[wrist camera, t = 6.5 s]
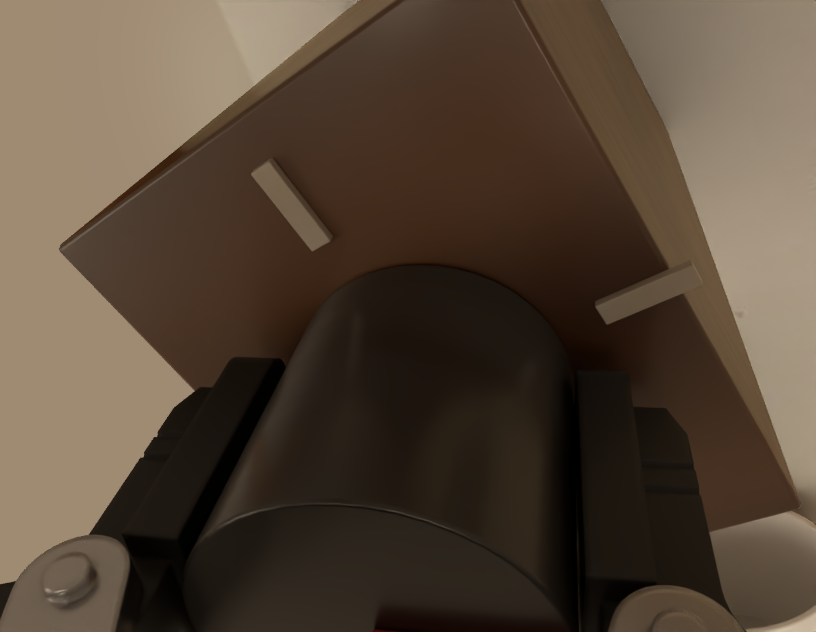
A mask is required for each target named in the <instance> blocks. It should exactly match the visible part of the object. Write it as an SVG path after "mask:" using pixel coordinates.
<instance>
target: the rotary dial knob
mask: <svg viewBox="0 0 816 632" xmlns="http://www.w3.org/2000/svg"><path fill="white" fill-rule="evenodd" d="M182 594H183V600H184V606H185V610H186V612H187V615H188V618H189V620H190V623H191V625H192V627H193V628H194V630H195V632H579V614H578V569H577V523H576V478H575V432H574V388H573V375H572V370H571V366H570V362H569V358H568V356H567V353H566V351H565V349H564V346H563V344H562V342H561V341H560V339H559V337H558V336H557V334H556V333H555V331H554V329H553V328H552V327H551V326H550V324H549V323H548V322H547V321H546V320H545V318H544V317H543V316H542V315H541V314H540V313H539V312H538V311H537V310H536V309H535V308H533V307H532V306H531V305H530V304H529V303H528V302H527V301H525V300H524V299H523V298H521V297H520V296H518V295H517V294H515V293H514V292H513V291H511V290H509V289H507V288H505V287H504V286H502V285H500V284H498V283H496V282H494V281H492V280H489V279H487V278H484V277H482V276H479V275H477V274H473V273H470V272H466V271H462V270H459V269H453V268H447V267H441V266H426V265H413V266H400V267H394V268H389V269H384V270H380V271H377V272H374V273H371V274H368V275H365V276H362V277H360V278H358V279H356V280H354V281H352V282H350V283H348V284H346V285H345V286H343V287H342V288H340V289H339V290H338V291H336V292H335V293H333V294H332V295H331V296H330V297H329V298H328V299H327V300H326V301H325V302H324V303H323V304H322V305H321V306H320V307H319V309H318V310H317V311H316V313H315V314H314V315H313V317H312V319H311V320H310V322H309V324H308V326H307V328H306V330H305V332H304V334H303V336H302V338H301V340H300V342H299V344H298V345H297V347H296V349H295V351H294V353H293V355H292V357H291V359H290V361H289V363H288V365H287V367H286V369H285V371H284V373H283V375H282V376H281V378H280V380H279V382H278V384H277V386H276V388H275V390H274V392H273V394H272V396H271V398H270V400H269V402H268V404H267V406H266V407H265V409H264V411H263V413H262V415H261V417H260V419H259V421H258V423H257V425H256V427H255V429H254V431H253V433H252V435H251V437H250V438H249V440H248V442H247V444H246V446H245V448H244V450H243V452H242V454H241V456H240V458H239V460H238V462H237V464H236V466H235V468H234V469H233V471H232V473H231V475H230V477H229V479H228V481H227V483H226V485H225V487H224V489H223V491H222V493H221V495H220V497H219V499H218V500H217V502H216V504H215V506H214V508H213V510H212V512H211V514H210V516H209V518H208V520H207V522H206V524H205V526H204V528H203V530H202V531H201V533H200V535H199V537H198V539H197V541H196V543H195V545H194V547H193V549H192V551H191V553H190V555H189V557H188V559H187V561H186V565H185V568H184V572H183V586H182Z"/></svg>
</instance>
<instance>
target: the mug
mask: <svg viewBox="0 0 816 632" xmlns="http://www.w3.org/2000/svg"><path fill="white" fill-rule="evenodd" d="M709 534H710V538H711V543H712V547H713V552H714V556H715V561H716V565H717V570H718V574H719V578H720V583H721V587H722V591H723V595H724V598H725V601H726V603H727V605H728V607H729V609H730V611H731V612H732V614H733V615H734V617H735V618H736V620H737V621H738V622H739V624H740V625H741V626H742V627H743V628H744V629H745V630H746V632H816V524H814V523H813V522H811V521H810V520H808V519H807V518H805V517H803V516H801V515H799V514H797V513H795V512H793V511H790V512H786V513H782V514H778V515H774V516H770V517H767V518H763V519H759V520H755V521H751V522H747V523H744V524H740V525H736V526H732V527H728V528H724V529H720V530H717V531H713V532H709Z"/></svg>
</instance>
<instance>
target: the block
mask: <svg viewBox="0 0 816 632" xmlns="http://www.w3.org/2000/svg"><path fill="white" fill-rule="evenodd" d="M59 250H60V252H61V253H62V254H63V255H64V256H65V257H66V258H67V259H68V260H69V261H70V262H71V263H72V264H73V266H74V267H76V269H77V270H78V271H79V272H80V273H81V274H82V275H83V276H84V277H85V278H86V279H87V280H88V281H89V282H90V283H91V284H92V285H93V286H94V287H95V288H96V289H97V290H98V291H99V292H100V293H101V294H102V295H103V297H104V298H105V299H106V300H107V301H108V302H109V303H110V304H111V305H112V306H113V307H114V308H115V309H116V310H117V311H118V312H119V313H120V314H121V315H122V316H123V317H124V318H125V319H126V320H127V321H128V322H129V323H130V324H131V325H132V326H133V328H135V330H136V331H137V332H138V333H139V334H140V335H141V336H142V337H143V338H144V339H145V340H146V341H147V342H148V343H149V344H150V345H151V346H152V347H153V348H154V349H155V350H156V351H157V352H158V353H159V354H160V355H161V356H162V358H164V360H165V361H166V362H167V363H168V364H169V365H170V366H171V367H172V368H173V369H174V370H175V371H176V372H177V373H178V374H179V375H180V376H181V377H182V378H183V379H184V380H185V381H186V382H187V383H188V384H189V385H190V386H191V387H192V388H193V389H194V391H196V390H197V389H198V388H200V387H213V386H214V384H215V383H216V381H217V379H218V378H219V376H220V374H221V373H222V371H223V370H224V368H225V366H226V365H227V363H228V362H229V361H230V360H231V359H232V358H233V357H259V358H280V359H281V360H282V361H283V362H284V364H285V366H286V367H287V365H288V363H289V361H290V359H291V357H292V355H293V353H294V351H295V349H296V347H297V345H298V344H299V342H300V340H301V338H302V336H303V334H304V332H305V330H306V328H307V326H308V324H309V322H310V320H311V319H312V317H313V315H314V314H315V313H316V311H317V310H318V309H319V307H320V306H321V305H322V304H323V303H324V302H325V301H326V300H327V299H328V298H329V297H330V296H331V295H332V294H333V293H335V292H336V291H338V290H339V289H340V288H342V287H343V286H345V285H346V284H348V283H350V282H352V281H354V280H356V279H358V278H360V277H362V276H365V275H368V274H371V273H374V272H377V271H380V270H384V269H389V268H394V267H400V266H413V265H426V266H441V267H447V268H453V269H459V270H462V271H466V272H470V273H473V274H477V275H479V276H482V277H484V278H487V279H489V280H492V281H494V282H496V283H498V284H500V285H502V286H504V287H505V288H507V289H509V290H511V291H513V292H514V293H515V294H517V295H518V296H520V297H521V298H523V299H524V300H525V301H527V302H528V303H529V304H530V305H531V306H532V307H533V308H535V309H536V310H537V311H538V312H539V313H540V314H541V315H542V316H543V317H544V318H545V320H546V321H547V322H548V323H549V324H550V326H551V327H552V328H553V329H554V331H555V333H556V334H557V336H558V337H559V339H560V341H561V342H562V344H563V346H564V349H565V351H566V353H567V356H568V358H569V362H570V366H571V370H572V375H573V388H574V394H575V377H576V370H577V369H580V370H608V371H628V374H629V379H630V386H631V394H632V401H633V407H649V408H666V409H667V410H668V411H669V412H670V414H671V415H672V416H673V417H674V419H675V420H676V421H677V422H678V423H679V425H680V426H681V427H682V428H683V430H684V431H685V432H686V433H687V435H688V439H689V444H690V448H691V453H692V457H693V462H694V470H695V471H696V475H697V480H698V484H699V494H700V495H701V498H702V502H703V507H704V511H705V516H706V520H707V525H708V529H709V532H713V531H717V530H720V529H724V528H728V527H732V526H736V525H740V524H744V523H747V522H751V521H755V520H759V519H763V518H767V517H770V516H774V515H778V514H782V513H786V512H790V511H794V510H797V509H799V508H800V500H799V498H798V495H797V492H796V489H795V486H794V484H793V481H792V478H791V475H790V472H789V470H788V467H787V464H786V461H785V458H784V456H783V453H782V450H781V447H780V444H779V442H778V439H777V436H776V433H775V430H774V428H773V425H772V422H771V419H770V416H769V414H768V411H767V408H766V405H765V402H764V400H763V397H762V394H761V391H760V388H759V386H758V383H757V380H756V377H755V374H754V372H753V369H752V366H751V363H750V360H749V358H748V355H747V352H746V349H745V347H744V344H743V341H742V338H741V335H740V333H739V330H738V327H737V324H736V321H735V319H734V316H733V313H732V310H731V307H730V305H729V302H728V299H727V296H726V293H725V291H724V288H723V285H722V282H721V279H720V277H719V274H718V271H717V268H716V265H715V263H714V260H713V257H712V254H711V251H710V249H709V246H708V243H707V240H706V237H705V235H704V232H703V229H702V226H701V223H700V221H699V218H698V215H697V212H696V209H695V207H694V204H693V201H692V198H691V195H690V193H689V190H688V187H687V184H686V181H685V179H684V176H683V173H682V170H681V167H680V165H679V162H678V159H677V156H676V153H675V151H674V148H673V145H672V142H671V139H670V137H669V134H668V131H667V129H666V127H665V125H664V123H663V121H662V119H661V118H660V116H659V114H658V112H657V110H656V108H655V106H654V104H653V102H652V100H651V98H650V96H649V94H648V92H647V90H646V88H645V86H644V84H643V82H642V80H641V78H640V76H639V74H638V72H637V70H636V68H635V66H634V64H633V62H632V60H631V59H630V57H629V55H628V53H627V51H626V49H625V47H624V45H623V43H622V41H621V39H620V37H619V35H618V33H617V31H616V29H615V27H614V25H613V23H612V21H611V19H610V17H609V15H608V13H607V11H606V9H605V7H604V5H603V3H602V2H601V0H360V1H359V2H357V3H356V4H355V5H353V6H352V7H351V8H349V9H348V10H347V11H345V12H344V13H343V14H341V15H340V16H339V17H338V18H337V19H335V20H334V21H333V22H332V23H330V24H329V25H328V26H327V27H326V28H324V29H323V30H322V31H321V32H319V33H318V34H317V35H316V36H315V37H313V38H312V39H311V40H310V41H308V42H307V43H306V44H305V45H304V46H302V47H301V48H300V49H299V50H298V51H296V52H295V53H294V54H293V55H291V56H290V57H289V58H288V59H287V60H285V61H284V62H283V63H282V64H280V65H279V66H278V67H277V68H276V69H274V70H273V71H272V72H271V73H269V74H268V75H267V76H266V77H265V78H263V79H262V80H261V81H260V82H258V83H257V84H256V85H255V86H254V87H252V88H251V89H250V90H249V91H248V92H246V93H245V94H244V95H243V96H241V98H239V99H238V100H237V101H235V102H234V103H233V104H232V105H231V106H229V107H228V108H227V109H226V110H224V111H223V112H222V113H221V114H219V115H218V116H217V117H216V118H215V119H213V120H212V121H211V122H210V123H209V124H208V125H206V126H205V127H204V128H202V129H201V130H200V131H199V132H198V133H196V134H195V135H194V136H193V137H191V138H190V139H189V140H188V141H187V142H185V143H184V144H183V145H182V146H180V147H179V148H178V149H177V150H176V151H174V152H173V153H172V154H171V155H169V156H168V157H167V158H166V159H165V160H163V161H162V162H161V163H160V164H159V165H157V166H156V167H155V168H154V169H152V170H151V171H150V172H149V173H148V174H146V175H145V176H144V177H143V178H141V179H140V180H139V181H138V182H137V183H135V184H134V185H133V186H132V187H130V188H129V189H128V190H127V191H126V192H124V193H123V194H122V195H121V196H119V197H118V198H117V199H116V200H115V201H113V202H112V203H111V204H110V205H108V206H107V207H106V208H105V209H104V210H102V211H101V212H100V213H99V214H98V215H96V216H95V217H94V218H93V219H91V220H90V221H89V222H88V223H87V224H85V225H84V226H83V227H82V228H80V229H79V230H78V231H77V232H76V233H74V234H73V235H72V236H71V237H69V238H68V239H67V240H66V241H65V242H63V243H62V244H61V245H60V248H59Z"/></svg>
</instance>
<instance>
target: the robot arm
mask: <svg viewBox="0 0 816 632" xmlns="http://www.w3.org/2000/svg"><path fill="white" fill-rule="evenodd" d="M285 369H286V366H285V364H284V362H283V361H282V360H281V359H280V358H259V357H233V358H232V359H231V360H230V361H229V362H228V363H227V365H226V366H225V368H224V370H223V371H222V373H221V374H220V376H219V378H218V379H217V381H216V383H215V384H214V386H213V387H200V388H198V389H197V390H196V391H195V392H193V393H192V394H191V395H189V396H188V397H187V398H186V399H184V400H183V401H182V402H181V403H179V404H178V405H177V406H176V407H174V408H173V410H172V412H171V413H170V414H169V416H168V417H167V419H166V420H165V422H164V423H163V425H162V426H161V428H160V429H159V431H158V436H157V437H154V438H153V440H152V441H151V443H150V445H149V446H148V447H147V449H146V450H145V452H144V457H143V458H140V459H139V461H138V463H137V464H136V465H135V467H134V468H133V470H132V471H131V473H130V474H129V476H128V477H127V479H126V480H125V482H124V483H123V485H122V486H121V488H120V489H119V491H118V492H117V494H116V495H115V497H114V498H113V500H112V501H111V503H110V504H109V506H108V507H107V508H106V510H105V511H104V513H103V514H102V516H101V518H100V519H99V521H98V522H97V523H96V525H95V526H94V528H93V530H92V531H91V532H90V534H89V535H86V536H81V537H76V538H73V539H70V540H67V541H64V542H62V543H60V544H58V545H56V546H54V547H52V548H51V549H49V550H47V551H46V552H44V553H43V554H42V555H40V556H39V557H37V558H36V559H35V560H34V561H33V562H32V563H31V564H30V565H28V567H27V568H26V569H25V570H24V571H23V572H22V573H21V575H20V576H19V578H18V579H17V581H15V582H11V583H5V584H0V632H195V630H194V628H193V627H192V625H191V623H190V620H189V618H188V615H187V612H186V610H185V606H184V600H183V594H182V586H183V572H184V568H185V565H186V561H187V559H188V557H189V555H190V553H191V551H192V549H193V547H194V545H195V543H196V541H197V539H198V537H199V535H200V533H201V531H202V530H203V528H204V526H205V524H206V522H207V520H208V518H209V516H210V514H211V512H212V510H213V508H214V506H215V504H216V502H217V500H218V499H219V497H220V495H221V493H222V491H223V489H224V487H225V485H226V483H227V481H228V479H229V477H230V475H231V473H232V471H233V469H234V468H235V466H236V464H237V462H238V460H239V458H240V456H241V454H242V452H243V450H244V448H245V446H246V444H247V442H248V440H249V438H250V437H251V435H252V433H253V431H254V429H255V427H256V425H257V423H258V421H259V419H260V417H261V415H262V413H263V411H264V409H265V407H266V406H267V404H268V402H269V400H270V398H271V396H272V394H273V392H274V390H275V388H276V386H277V384H278V382H279V380H280V378H281V376H282V375H283V373H284V371H285ZM574 432H575V478H576V523H577V569H578V614H579V632H746V630H745V629H744V628H743V627H742V626H741V625H740V624H739V622H738V621H737V620H736V618H735V617H734V615H733V614H732V612H731V611H730V609H729V607H728V605H727V603H726V601H725V598H724V595H723V591H722V587H721V583H720V578H719V574H718V570H717V565H716V561H715V556H714V552H713V547H712V543H711V538H710V534H709V529H708V525H707V520H706V516H705V511H704V507H703V502H702V498H701V495H700V494H699V484H698V480H697V475H696V471H695V470H694V462H693V457H692V453H691V448H690V444H689V439H688V435H687V433H686V432H685V431H684V430H683V428H682V427H681V426H680V425H679V423H678V422H677V421H676V420H675V419H674V417H673V416H672V415H671V414H670V412H669V411H668V410H667V409H666V408H649V407H633V401H632V394H631V386H630V379H629V374H628V371H608V370H580V369H577V370H576V377H575V394H574Z"/></svg>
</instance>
